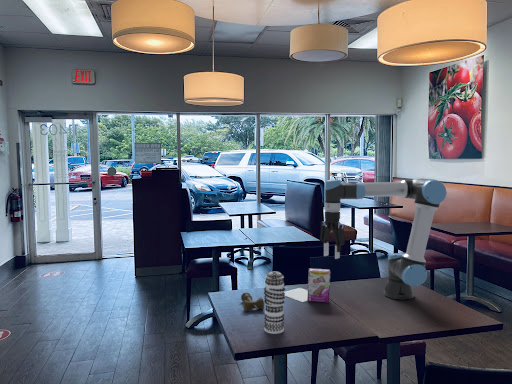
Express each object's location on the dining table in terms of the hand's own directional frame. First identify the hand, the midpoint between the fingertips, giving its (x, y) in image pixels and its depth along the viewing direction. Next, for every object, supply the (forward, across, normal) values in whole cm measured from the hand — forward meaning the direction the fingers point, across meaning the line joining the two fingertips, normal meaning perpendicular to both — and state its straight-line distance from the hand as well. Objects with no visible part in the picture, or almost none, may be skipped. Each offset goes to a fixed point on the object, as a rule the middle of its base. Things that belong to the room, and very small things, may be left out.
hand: (331, 256), depth 206 cm
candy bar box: (+25, -8, 0) cm, 26 cm away
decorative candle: (+25, +4, -42) cm, 49 cm away
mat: (+25, -21, 0) cm, 33 cm away
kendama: (+25, -23, -33) cm, 48 cm away
